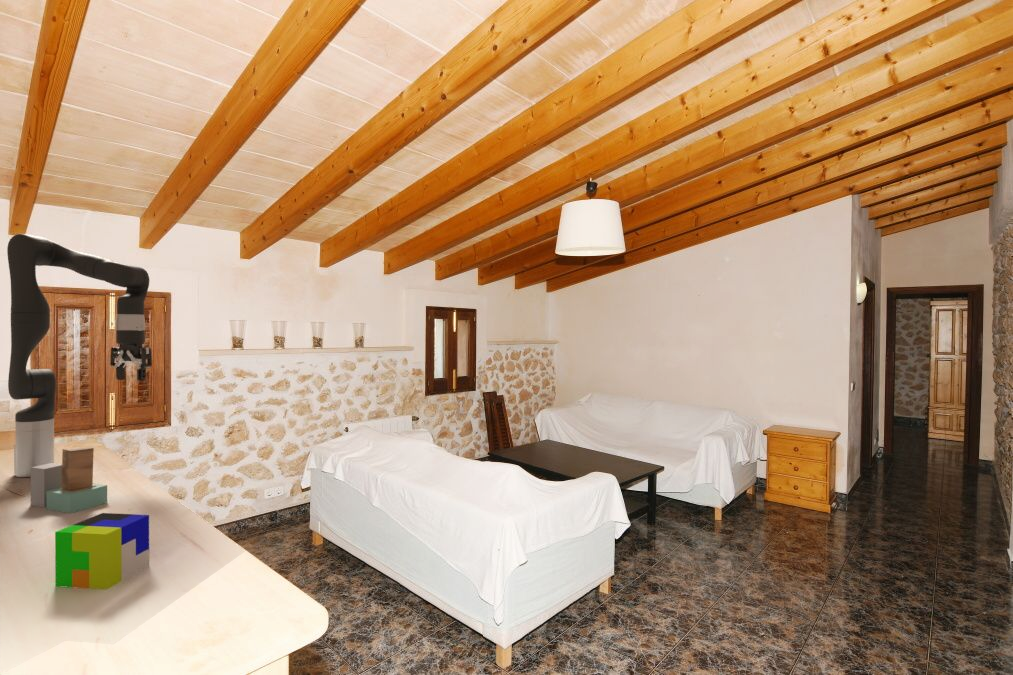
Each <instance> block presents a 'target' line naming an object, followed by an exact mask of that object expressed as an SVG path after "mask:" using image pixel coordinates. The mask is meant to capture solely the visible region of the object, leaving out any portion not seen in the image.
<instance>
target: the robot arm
mask: <svg viewBox="0 0 1013 675" xmlns="http://www.w3.org/2000/svg"><path fill="white" fill-rule="evenodd" d="M6 249H7V251H6V252H7V262H8V269H9V276H10V278H9V279H10V347H11V348H10V349H11V350H10V359H9V367H8V368H9V370H8V381H7V383H8V384H7V386H8V387H7V388H8V394H9V395H10V397H11V399H13V400H30V399H31V400H33V399H37V400H36V402H34V403H33V404H32V405H31V406H28V407H25V408H23V409H20V410H18V411H17V412H16V413H15V416H14V419H15V420H14V421H15V427H14V428H15V444H14V445H13V456H14V458H13V465H14V466H13V469H14V470H13V471H14V472H13V473H14V475H15V477H17V478H31V467H35V466H40V465H44V464H49V463H55V408H56V390H57V376H56V374H55V372H54V371H53V370H52V369H50V368H36V369H35V368H34V369H32V368H31V369H27V366H28V362H29V358H30V356H31V354H32V352H33V351H34V350H35V349H36V347H37V346H38V345H39V344H40V342H41V341H42V340H43V339H44V338H45V336H46V335H47V333H49V330H50V325H51V309H50V304H49V302H48V300H47V298H46V297H45V294H44V293H43V292H42V290H41V287H40V286H39V284H38V281H37V276H36V266H38V267H40V266H41V267H42V266H46V267H57V268H64V269H68V270H71V271H73V272H75V273H77V274H78V275H81V276H84V277H88V278H91V279H96V280H99V281H103V282H106V283H107V284H108V283H109V284H110V285H114V286H117V287H121V288H125V289H126V290H125V294H124V295H121V296H119V297H118V298H117V301H116V314H117V315H116V319H115V320H116V321H115V342H116V344H117V345H119V346H112V347H110V357H109V358H110V360H109V361H110V366H111V367H114V369H115V377H116V380H117V381H122V380H123V381H124V380H125V379H126V368H125V367H126V365H127V363H129V362H131V363H132V364H134V365H135V366H136V368H137V369H136V381H137V382H144V381H146V378H147V369H148V368H150V367H152V366H153V363H152V362H153V361H152V360H153V359H152V357H153V356H152V348H151V347H143V345H144V344H146V319H145V300H146V298H147V294H148V291H149V286H150V276H149V273H148V272H147V270H146V269H144V268H143V267H140V266H136V265H128V264H126V263H125V264H124V263H120V262H116V261H113V260H111V259H108V258H106V257H105V258H104V257H102V256H98V255H94V254H90V253H85V252H80V251H77V250H74V249H71V248H69V247H66V246H63V245H61V244H60V243H57V242H55V241H53V240H51V239H48V238H45V237H44V236H43V237H42V236H36V235H32V234H26V233H25V234H24V233H17V234H14V235H13V236H11V238H10V239H9V241H8V244H7V248H6Z"/></svg>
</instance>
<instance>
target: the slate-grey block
mask: <svg viewBox="0 0 1013 675" xmlns="http://www.w3.org/2000/svg"><path fill="white" fill-rule="evenodd" d="M61 484H62V463H56V462H54V463H49V464H44V465H40V466H35V467H31V477H30V506H32V507H40V508H47V496H46V491H50V490H54V489H58V488H62V487H61Z"/></svg>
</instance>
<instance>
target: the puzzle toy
mask: <svg viewBox="0 0 1013 675" xmlns="http://www.w3.org/2000/svg"><path fill="white" fill-rule="evenodd" d="M54 534H55V535H54V538H55V540H54V541H55V544H54V545H55V546H54V547H55V548H54V549H55V551H54V553H55V554H54V555H55V556H54V559H55V561H54V562H55V566H54V567H55V570H54V572H55V577H54V578H55V581H54V582H55V584H54V585H55V587H57V586H67V587H66V588H73V587H77V588H78V589H90V588H91V590H95V589H96V590H108V589H110V588H111V587H113V586H115V585H117V584H118V583H120V582H122V581H124V580H125V579H127V578H129V577H131V576H132V575H134V574H136V573H138V572H140V571H141V570H143V569H144V568H146V567H148V566H150V515H149V514H132V513H112V512H102V513H98V514H96V515H94V516H92V517H89V518H87V519H84V520H81V521H79V522H77V523H74V524H70V525H69V526H67V527H64V528H61V529H59V530H57V531H54ZM77 588H76V589H77Z"/></svg>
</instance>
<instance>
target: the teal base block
mask: <svg viewBox="0 0 1013 675" xmlns="http://www.w3.org/2000/svg"><path fill="white" fill-rule="evenodd" d="M46 496H47V507H46V510H49V511H54V512H55V511H56V512H61V513H67V514H73V513H77V512H80V511H83V510H86V509H89V508H93V507H96V506H100V505H104V504H107V503H108V485H107V484H103V483H101V484H100V483H94V482H93V484H92V486H91V487H85V488H79V489H74V490H67V489H64V488H58V489H54V490H50V491H46ZM106 502H107V503H106ZM103 503H104V504H103Z"/></svg>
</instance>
